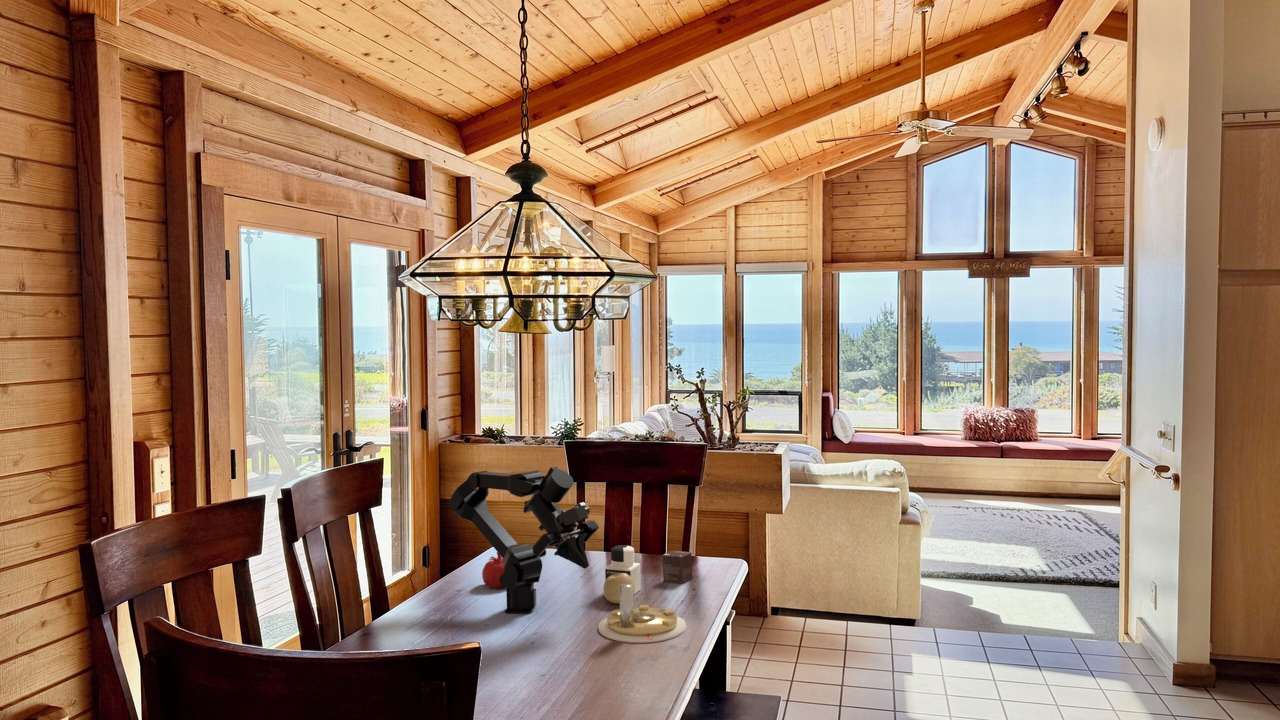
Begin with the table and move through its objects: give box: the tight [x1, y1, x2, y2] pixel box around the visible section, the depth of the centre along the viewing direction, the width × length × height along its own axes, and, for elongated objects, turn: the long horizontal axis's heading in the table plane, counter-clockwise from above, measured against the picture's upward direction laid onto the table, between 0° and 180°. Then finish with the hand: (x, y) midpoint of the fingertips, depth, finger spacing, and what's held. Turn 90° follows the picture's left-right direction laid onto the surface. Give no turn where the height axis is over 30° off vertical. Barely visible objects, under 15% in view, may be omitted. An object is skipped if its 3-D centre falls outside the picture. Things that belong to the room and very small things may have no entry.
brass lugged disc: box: [606, 584, 677, 636], centre depth 193 cm, size 16×16×10 cm
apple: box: [603, 573, 635, 604], centre depth 213 cm, size 8×8×8 cm
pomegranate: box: [481, 551, 505, 589], centre depth 230 cm, size 10×10×9 cm
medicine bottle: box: [604, 544, 642, 595], centre depth 221 cm, size 7×7×12 cm
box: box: [662, 549, 693, 584], centre depth 232 cm, size 6×6×7 cm
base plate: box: [598, 615, 687, 644], centre depth 193 cm, size 20×20×1 cm
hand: (586, 567), depth 195 cm, fingers closed
